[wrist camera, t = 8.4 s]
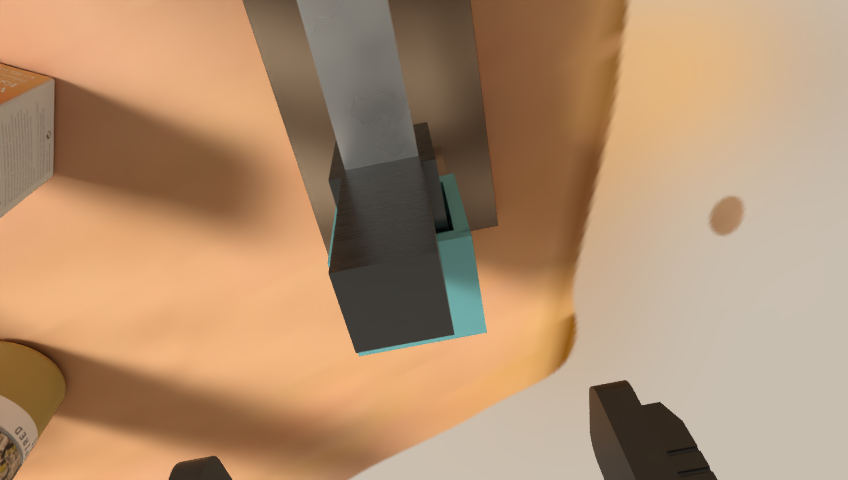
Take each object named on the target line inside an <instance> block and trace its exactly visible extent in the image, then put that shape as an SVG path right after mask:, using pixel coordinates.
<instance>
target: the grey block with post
mask: <svg viewBox="0 0 848 480" xmlns="http://www.w3.org/2000/svg"><path fill="white" fill-rule="evenodd" d="M297 4H298V7H299V11H300V14H301V18H302V21H303V25H304V28H305V32H306V35H307V39H308V42H309V46H310V49H311V53H312V56H313V60H314V63H315V67H316V70H317V74H318V77H319V81H320V84H321V88H322V91H323V95H324V98H325V102H326V105H327V109H328V112H329V116H330V119H331V123H332V126H333V130H334V133H335V137H336V141H335V147H334V152H333V157H332V163H331V168H330V174H329V179H328V181H329V185H330V188H331V191H332V194H333V198H334V201H335V204H336V207H337V215H336V223H335V230H334V237H333V245H332V252H331V259H330V267H329V276H330V279H331V282H332V285H333V288H334V291H335V294H336V296H337V299H338V302H339V305H340V308H341V311H342V314H343V317H344V320H345V323H346V326H347V328H348V331H349V334H350V337H351V340H352V343H353V346H354V349H355V352H356V353H360V352H365V351H370V350H376V349H381V348H386V347H392V346H397V345H402V344H408V343H413V342H419V341H424V340H429V339H435V338H440V337H445V336H451V335H455V334H454V328H453V323H452V317H451V312H450V306H449V301H448V295H447V289H446V284H445V278H444V273H443V267H442V262H441V256H440V250H439V245H438V239H437V234H436V231H439V230H445V229H449V228H448V223H447V218H446V212H445V207H444V201H443V196H442V190H441V185H440V179H439V174H438V168H437V163H436V158H435V153H434V149H433V145H432V140H431V136H430V132H429V127H428V123H427V122H424V123H419V124H414V125H413V121H412V116H411V111H410V106H409V101H408V96H407V91H406V86H405V81H404V76H403V71H402V66H401V61H400V56H399V51H398V46H397V41H396V36H395V31H394V26H393V21H392V16H391V11H390V6H389V1H388V0H297Z"/></svg>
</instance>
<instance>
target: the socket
mask: <svg viewBox="0 0 848 480" xmlns="http://www.w3.org/2000/svg"><path fill="white" fill-rule="evenodd" d="M439 179H440V185H441V190H442V196H443V201H444V207H445V212H446V218H447V223H448V228H449V229H445V230H439V231H436V234H437V239H438V245H439V250H440V256H441V262H442V267H443V273H444V278H445V284H446V289H447V295H448V301H449V306H450V312H451V317H452V323H453V328H454V334H455V335H451V336H445V337H440V338H435V339H429V340H424V341H419V342H413V343H408V344H402V345H397V346H392V347H386V348H381V349H376V350H370V351H365V352H360V353H358V354H359V356H363V355H368V354H374V353H379V352H385V351H390V350H395V349H401V348H406V347H411V346H417V345H422V344H427V343H433V342H438V341H444V340H449V339H454V338H460V337H465V336H470V335H476V334H481V333H487V331H486V324H485V318H484V311H483V305H482V299H481V292H480V286H479V279H478V273H477V267H476V260H475V254H474V247H473V241H472V235H471V231H470V228H469V224H468V221H467V218H466V214H465V211H464V207H463V204H462V200H461V197H460V193H459V190H458V186H457V183H456V179H455V176H454V173H453V174H448V175H443V176H439ZM336 215H337V207H336V208H335V215H334V222H333V229H332V236H331V243H330V250H329V257H328V266H329V267H330V259H331V252H332V245H333V237H334V230H335V223H336Z"/></svg>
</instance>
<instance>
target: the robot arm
mask: <svg viewBox="0 0 848 480" xmlns="http://www.w3.org/2000/svg"><path fill="white" fill-rule="evenodd" d="M589 405H590V436H591V441H592V446H593V449H594V453H595V456H596V459H597V462H598V464H599V467H600V469H601V472H602V475H603V477H604V480H717V478H716V476H715V475H714V473H713V472H711V470H710V467H709V465H708V463H707V461H706V460H705V458H704V456H703V454H702V453H701V451H699V450H698V448H697V444H696V443H695V441H694V439H693V438H692V436H691V435H690V433H689V431H688V429H687V428H686V426H685V424H684V423H683V421H682V420H681V419H679V418H678V417H677V416H676V415H674V414H673V413H672V412H671V411H670V410H669V409H667V408H666V407H665V406H664V405H663V404H662V403H660V402H657V403H652V404H647V405H641V403H640V401H639V400H638V398H637V396H636V394H635V392H634V390H633V388H632V387H631V385H630V384H629V383H628V382H627V381H626V380H623V381H618V382H613V383H607V384H602V385H597V386H592V387H590V389H589ZM169 480H232V478H231V477H230V475H229V474H228V472H227V471H226V469H225V468H224V466H223V464H222V463H221V461H220V460H219V459H218V458H217V457H216V456H210V457H205V458H199V459H194V460H189V461H183V462H179V463H177V464H176V465H175V466H174V468H173V470H172V472H171V474H170V477H169Z"/></svg>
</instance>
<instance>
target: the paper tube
mask: <svg viewBox="0 0 848 480" xmlns="http://www.w3.org/2000/svg"><path fill="white" fill-rule="evenodd" d="M65 393H66V385H65V380H64V377H63V374H62V372H61V371H60V369H59V368H58V367H57V366H56V364H55V363H54V362H52V361H51V360H50V359H49V358H48V357H46V356H45V355H43V354H42V353H40V352H38V351H36V350H34V349H32V348H29V347H27V346H24V345H21V344H17V343H12V342H6V341H0V480H13V478H14V477H15V475H16V473H17V472H18V470H19V469H20V467H21V466H22V464H23V463H24V461H25V459H26V458H27V456H28V455H29V453H30V452H31V450H32V448H33V447H34V445H35V444H36V442H37V440H38V438H39V437H40V435H41V434H42V432H43V431H44V429H45V427H46V426H47V424H48V423H49V421H50V420H51V418H52V417H53V415H54V413H55V412H56V410H57V409H58V407H59V406H60V404H61V403H62V401H63V399H64V396H65Z"/></svg>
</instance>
